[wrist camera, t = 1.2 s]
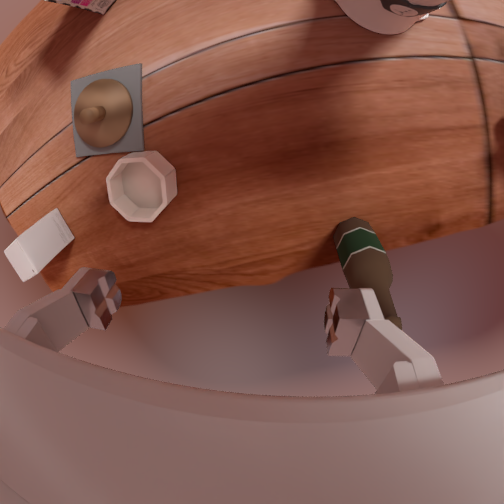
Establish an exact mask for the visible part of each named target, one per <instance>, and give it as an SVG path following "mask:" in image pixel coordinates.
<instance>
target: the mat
mask: <svg viewBox="0 0 504 504" xmlns="http://www.w3.org/2000/svg"><path fill="white" fill-rule="evenodd" d="M99 79H114V80H117V81H119V82H120V83H122V84H123V85H124V86H125V87H126V88H127V90H128V91H129V93H130V95H131V98H132V102H133V117H132V121H131V124H130V127H129V129H128V130H127V132H126V134H125V135H124V136H123V137H122V138H121V139H120V140H119V141H117V142H116V143H114V144H112V145H110V146H107V147H102V148H98V147H93V146H90V145H88V144H87V143H85V142H84V141H83V140H82V139H81V137H80V136H79V134H78V132H77V130H76V127H75V123H74V109H75V104H76V101H77V99H78V97H79V95H80V93H81V92H82V91H83V89H84V88H85V87H86V86H87V85H89V84H90V83H92V82H94V81H96V80H99ZM71 106H72V121H73V133H74V142H75V151H76V157H82V156H90V155H99V154H108V153H119V152H132V151H144V150H145V149H144V135H143V115H142V64H141V63H140V64H135V65H130V66H125V67H121V68H116V69H112V70H108V71H104V72H100V73H97V74H93V75H89V76H86V77H83V78H79V79H76V80H73V81H71Z"/></svg>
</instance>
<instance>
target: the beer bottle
mask: <svg viewBox="0 0 504 504" xmlns="http://www.w3.org/2000/svg"><path fill="white" fill-rule="evenodd" d="M333 238H334V243H335V246H336V249H337V252H338V256H339V259H340V262H341V266H342V269H343V272H344V275H345V277H346V280H347V282H348V285H349V287H350V288H351V289H358V288H372V289H373V290H374V293H375V295H376V298H377V301H378V303H379V306H380V308H381V311H382V314H383V317H384V319H385V320H389V321H390V322H392V323H393V324H394V325H395V326H397V327H398V328H399V329H400V330H402V324H401V318H400V317H397V314H396V310H395V307H394V304H393V301H392V298H391V295H390V291H389V288H390V286H391V283H392V279H393V274H392V270H391V266H390V262H389V259H388V257H387V254H386V252H385V250H384V248H383V247H382V245H381V243H380V241H379V239H378V238H377V236H376V234H375V232H374V231H373V229H372V227H371V226H370V224H369V223H368V222H366V221H363V220H361V219H358V218H356V217H353V218H350V219H348V220H345V221H343V222H341V223H339V226H338V228H337V230H336V232H335V234H334V236H333Z"/></svg>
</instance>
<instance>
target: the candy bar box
mask: <svg viewBox="0 0 504 504" xmlns="http://www.w3.org/2000/svg"><path fill="white" fill-rule="evenodd" d="M45 1H49V2H54V3H59V4H64V5H69V6H73V7H77V8H81V9H85V10H89V11H92V12H96V13H99V14H102V15H104V14H105V12H106V11H107V10H108V9H109V8H110V6H111V5H112V4H113V3H114V2H115V1H116V0H45Z"/></svg>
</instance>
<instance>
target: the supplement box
mask: <svg viewBox="0 0 504 504" xmlns="http://www.w3.org/2000/svg"><path fill="white" fill-rule="evenodd" d="M73 239H74V236H73V234H72V233H71V231H70V229H69V228H68V226H67V224H66V223H65V221H64V219H63V217H62V216H61V214H60V212H59V210H58V208H56V209H54V210H53V211H51V212H50V213H48V214H47V215H46V216H44V217H43V218H41V219H40V220H39V221H37V222H36V223H35V224H34V225H32V226H31V227H30V228H28V229H27V230H26V231H25V232H24V233H22V234H21V235H20V236H19V237H18V238H16V239H15V240H14V241H13V242H12V243H11V244H10V245H9V247H7V249H5V251H4V253H5V255H6V257H7V258H8V260H9V261H10V263H11V264H12V266H13V267H14V269H15V271H16V272H17V274H18V275H19V276H20V278H21V279H22V281H23V282H25V281H26V280H28V279H30V278H31V277H33V276H35V275H36V274H38V273H39V272H40V271H41V270H42V269H43V268H44V267H45V266H46V265H47V264H48V263H49V262H50V261H51V260H52V259H53V258H54V257H55V256H56V255H57V254H58V253H59V252H60V251H61V250H62V249H63V248H64V247H66V246H67V245H68V244H69V243H70V242H71V241H72V240H73Z"/></svg>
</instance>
